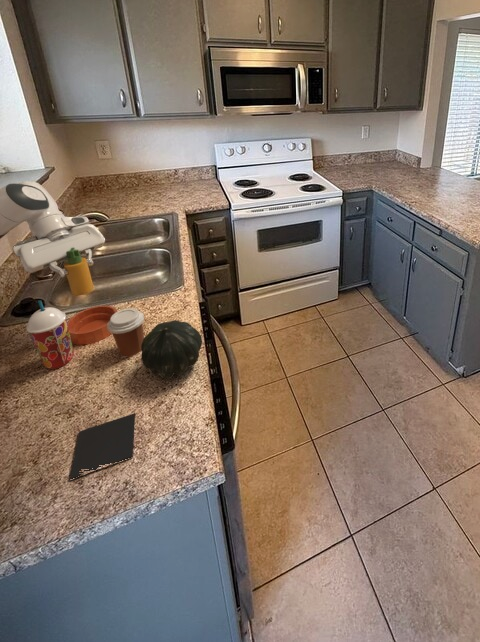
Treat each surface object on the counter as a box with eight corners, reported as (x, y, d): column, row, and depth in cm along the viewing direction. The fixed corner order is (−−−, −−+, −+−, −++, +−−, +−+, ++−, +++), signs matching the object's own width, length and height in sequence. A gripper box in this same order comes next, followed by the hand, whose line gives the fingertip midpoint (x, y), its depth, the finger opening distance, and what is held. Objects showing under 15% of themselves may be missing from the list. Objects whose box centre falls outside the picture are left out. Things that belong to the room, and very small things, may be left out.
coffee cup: (118, 343, 105) (109, 309, 101) (151, 336, 108) (144, 302, 103) (111, 365, 97) (102, 329, 93) (148, 357, 100) (140, 322, 95)
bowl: (64, 351, 102) (60, 339, 100) (73, 323, 113) (70, 312, 112) (118, 338, 107) (114, 326, 105) (121, 312, 118) (118, 301, 117)
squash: (177, 319, 106) (145, 307, 94) (219, 333, 101) (191, 323, 89) (154, 369, 101) (116, 364, 88) (197, 386, 96) (163, 383, 83)
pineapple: (70, 297, 101) (58, 255, 96) (73, 287, 106) (62, 247, 101) (92, 293, 103) (81, 251, 99) (94, 283, 108) (84, 244, 103)
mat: (69, 481, 69) (69, 479, 69) (79, 432, 79) (79, 431, 78) (132, 457, 73) (132, 456, 73) (135, 414, 83) (134, 413, 83)
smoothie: (85, 356, 100) (66, 296, 93) (53, 378, 93) (30, 314, 86) (66, 347, 103) (47, 288, 96) (34, 368, 96) (11, 305, 89)
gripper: (10, 239, 93) (37, 282, 92) (92, 215, 109) (116, 251, 108) (8, 250, 97) (34, 291, 95) (87, 225, 113) (111, 260, 112)
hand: (78, 270), depth 102 cm, fingers closed on pineapple, 5 cm apart
